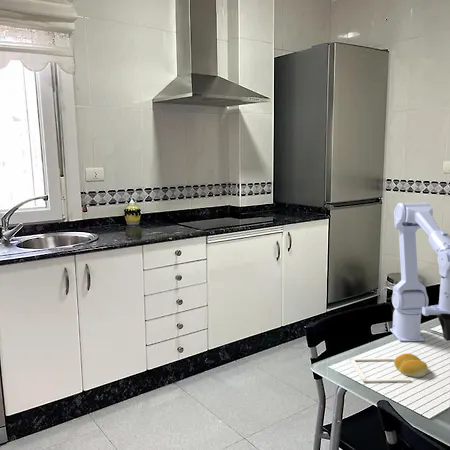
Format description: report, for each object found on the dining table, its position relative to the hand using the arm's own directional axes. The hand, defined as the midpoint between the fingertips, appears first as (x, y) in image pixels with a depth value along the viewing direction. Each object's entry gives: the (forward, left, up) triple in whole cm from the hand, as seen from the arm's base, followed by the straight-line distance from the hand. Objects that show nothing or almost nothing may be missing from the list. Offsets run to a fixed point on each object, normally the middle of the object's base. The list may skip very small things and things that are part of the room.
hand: (447, 339), depth 125 cm
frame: (0, -19, -9) cm, 21 cm away
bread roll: (0, -10, -9) cm, 13 cm away
